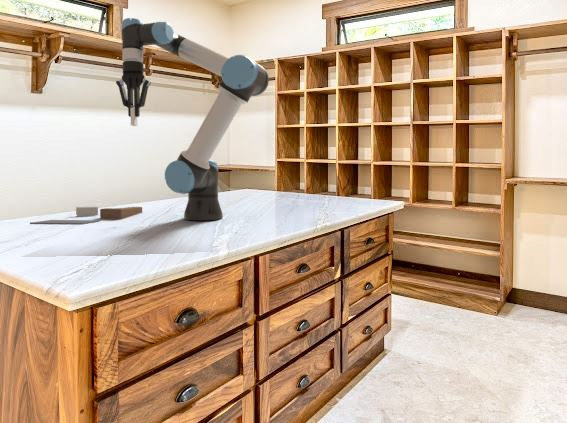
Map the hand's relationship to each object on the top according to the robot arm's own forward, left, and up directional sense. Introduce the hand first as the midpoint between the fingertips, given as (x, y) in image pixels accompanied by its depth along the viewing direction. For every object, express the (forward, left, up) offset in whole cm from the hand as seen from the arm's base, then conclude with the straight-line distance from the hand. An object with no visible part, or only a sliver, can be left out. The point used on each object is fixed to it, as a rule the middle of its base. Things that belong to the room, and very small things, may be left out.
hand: (134, 125), depth 180 cm
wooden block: (+11, -2, -34) cm, 36 cm away
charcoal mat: (+23, +9, -36) cm, 44 cm away
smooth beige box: (+26, -11, -37) cm, 46 cm away
